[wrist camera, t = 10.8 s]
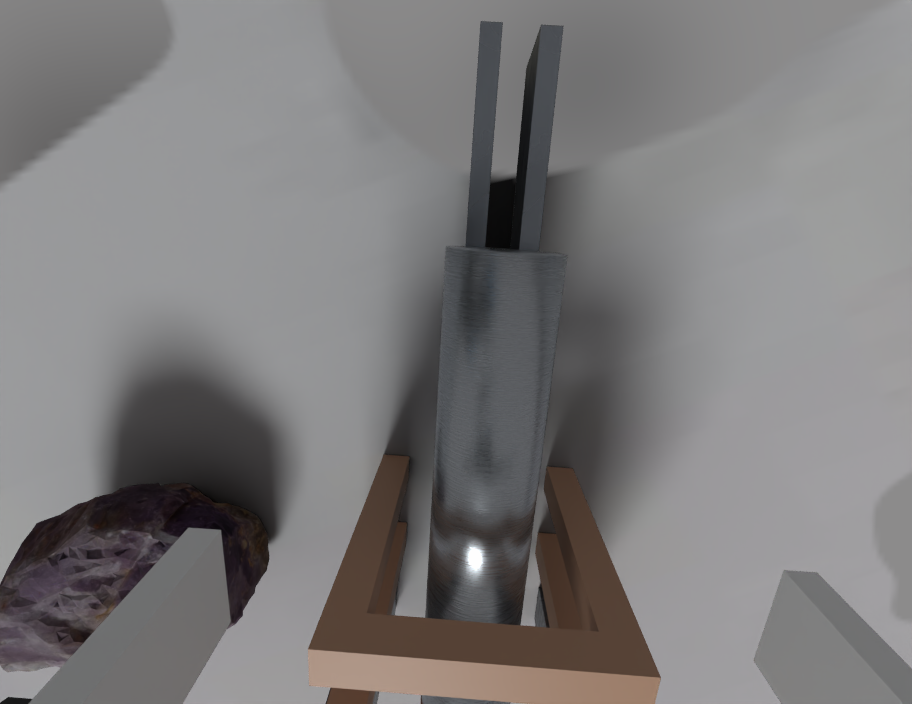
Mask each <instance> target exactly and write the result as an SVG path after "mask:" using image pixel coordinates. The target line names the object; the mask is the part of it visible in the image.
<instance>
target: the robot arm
mask: <svg viewBox="0 0 912 704" xmlns="http://www.w3.org/2000/svg"><path fill="white" fill-rule="evenodd" d="M230 622H231V619H230V610H229V600H228V591H227V582H226V572H225V563H224V554H223V544H222V535H221V530H215V529H201V528H188V529H187V530H186V531H185V532H184V533H183V534H182V535H181V536H180V538H179V539H178V540H177V541H176V542H175V543H174V544H173V545H172V546H171V547H170V549H169V550H168V551H167V552H166V553H165V554H164V555H163V556H162V557H161V558H160V560H159V561H158V562H157V563H156V564H155V565H154V566H153V567H152V568H151V569H150V571H149V572H148V573H147V574H146V575H145V576H144V577H143V578H142V579H141V580H140V582H139V583H138V584H137V585H136V586H135V587H134V588H133V589H132V590H131V591H130V593H129V594H128V595H127V596H126V597H125V598H124V599H123V600H122V601H121V602H120V604H119V605H118V606H117V607H116V608H115V609H114V610H113V611H112V612H111V613H110V615H109V616H108V617H107V618H106V619H105V620H104V621H103V622H102V623H101V624H100V626H99V627H98V628H97V629H96V630H95V631H94V632H93V633H92V634H91V635H90V637H89V638H88V639H87V640H86V641H85V642H84V643H83V644H82V645H81V646H80V648H79V649H78V650H77V651H76V652H75V653H74V654H73V655H72V656H71V657H70V659H69V660H68V661H67V662H66V663H65V664H64V665H63V666H62V667H61V668H60V670H59V671H58V672H57V673H56V674H55V675H54V676H53V677H52V678H51V679H50V681H49V682H48V683H47V684H46V685H45V686H44V687H43V688H42V689H41V690H40V692H39V693H38V694H37V695H36V696H35V697H34V698H33V699H26V698H13V697H8V698H6V699H5V700H4V701H2V702H1V703H0V704H183V702H184V700H185V698H186V697H187V695H188V693H189V692H190V690H191V688H192V687H193V685H194V683H195V682H196V680H197V678H198V677H199V675H200V673H201V671H202V670H203V668H204V666H205V665H206V663H207V661H208V660H209V658H210V656H211V655H212V653H213V651H214V649H215V648H216V646H217V644H218V643H219V641H220V639H221V638H222V636H223V634H224V633H225V631H226V629H227V627H228V626H229V624H230ZM754 662H755V663H756V665H757V667H758V668H759V670H760V671H761V673H762V674H763V676H764V677H765V679H766V680H767V682H768V684H769V685H770V687H771V688H772V690H773V691H774V693H775V694H776V696H777V698H778V699H779V701H780V702H781V704H912V669H911V668H910V667H909V666H908V665H907V664H906V663H905V662H904V660H903V659H902V658H901V657H900V656H899V655H898V654H897V653H896V652H895V651H894V650H893V649H892V648H891V647H890V646H889V645H888V644H887V643H886V642H885V641H884V640H883V639H882V638H881V637H880V636H879V635H878V634H877V633H876V632H875V631H874V630H873V629H872V628H871V627H870V626H869V625H868V624H867V623H866V622H865V621H864V620H863V619H862V618H861V617H860V616H859V615H858V614H857V613H856V612H855V611H854V610H853V609H852V608H851V607H850V606H849V605H848V604H847V603H846V602H845V601H844V600H843V599H842V597H841V596H840V595H839V594H838V593H837V592H836V591H835V590H834V589H833V588H832V587H831V586H830V585H829V584H828V583H827V582H826V581H825V580H824V579H823V578H822V577H821V576H820V575H819V574H818V573H816V572H802V571H788V570H784V571H783V574H782V577H781V580H780V583H779V586H778V589H777V592H776V595H775V598H774V601H773V604H772V607H771V610H770V613H769V616H768V619H767V622H766V625H765V628H764V631H763V633H762V636H761V639H760V642H759V645H758V648H757V651H756V654H755V657H754Z"/></svg>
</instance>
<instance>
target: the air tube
mask: <svg viewBox="0 0 912 704" xmlns="http://www.w3.org/2000/svg"><path fill="white" fill-rule="evenodd" d="M566 263H567V255H565V254H559V253H551V252H542V251H531V250H519V249H505V248H489V247H467V246H448V247H446V253H445V271H444V289H443V307H442V325H441V343H440V361H439V380H438V398H437V416H436V434H435V452H434V470H433V488H432V507H431V525H430V543H429V561H428V579H427V597H426V615H425V618H432V619H445V620H458V621H470V622H483V623H495V624H508V625H520V624H521V616H522V608H523V601H524V593H525V585H526V577H527V569H528V561H529V553H530V546H531V538H532V530H533V522H534V514H535V506H536V498H537V490H538V483H539V475H540V467H541V459H542V451H543V443H544V435H545V428H546V420H547V412H548V404H549V396H550V388H551V380H552V373H553V365H554V357H555V349H556V341H557V333H558V325H559V318H560V310H561V302H562V294H563V286H564V278H565V270H566ZM510 703H511V702H501V701H489V700H477V699H464V698H452V697H440V696H428V695H421V704H510Z"/></svg>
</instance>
